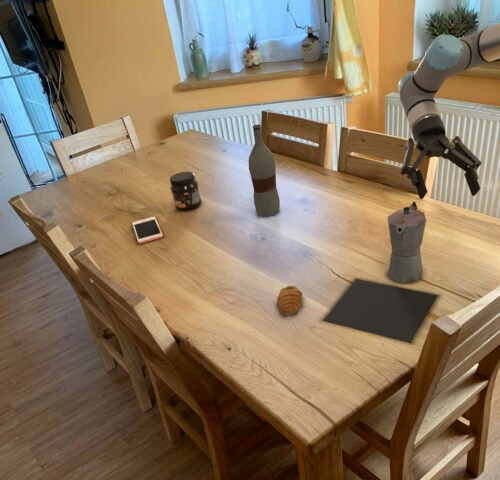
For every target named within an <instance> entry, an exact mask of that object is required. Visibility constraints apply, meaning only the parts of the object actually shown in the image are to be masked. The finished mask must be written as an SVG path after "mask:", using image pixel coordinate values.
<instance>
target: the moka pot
mask: <svg viewBox="0 0 500 480" xmlns="http://www.w3.org/2000/svg"><path fill="white" fill-rule="evenodd" d="M386 218H387V225H388V233H389V240H390V245H391V246H390V247H391V253H390V259H389V266H388V272H387V274H388V277H389V278H390V279H391V280H392V281H393V282H395V283H400V284H409V283H410V284H411V283H414V282H416V281H418V280H419V279H421V277H422V276H423V273H424V269H423V262H422V253H421V246H422V243H423V240H424V234H425V228H426V223H427V218H426V215H425V212H424V211H420V210H418V205H417V203H416V201H412V203H411V205H409V206H405V207H403V209H398V210H395V211H394V212H392V213H391V214H389V215H388V216H387V217H386Z"/></svg>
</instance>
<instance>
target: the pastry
mask: <svg viewBox="0 0 500 480" xmlns="http://www.w3.org/2000/svg"><path fill="white" fill-rule="evenodd" d="M276 300H277V301H276V302H277V305H278V309H279V310H280V313H282V315H284V316H288V315H289V316H290V315H294V314H296V313H297V312H298V310H299V309H300V308H301V306H302V304H303V292H302V291H301V290H300V288H298V287H297V286H296V285H295V286H294V285H287V286H285V287H282V288H281V289H280V290H279V293H278V295H277V297H276Z"/></svg>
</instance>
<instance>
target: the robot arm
mask: <svg viewBox="0 0 500 480" xmlns="http://www.w3.org/2000/svg"><path fill="white" fill-rule="evenodd" d="M499 59H500V22H499V23H496V24H494V25H491V26H490V27H487V28H484V29H481V30H479V31H476V32H474V33H472V34H469V35H466V36H465V37H461V38H457V37H456V36H454V35H451V34H445V33H444V34H439V35H438V36H436V37H434V40H433V41H432V42H431V44H430V46H428V48H427V49H426V51H425V53H424V55H423V57H422V59H421V61H420V62H419V64H418V66H417V68H416V69H415V70H413V71H409V72H408V73H406V74H405V76H404V77H403V76H402V77H401V79H400V80H399V82H398V86H397V91H398V94H399V100H400V102H401V105H402V107H403V110H404V113H405V116H406V119H407V121H408V126H409V129H410V131H411V134H412V137H409V138H407V139H408V140H407V141H406V142H405V145H404V149H405V154H404V157H403V161H402V165H401V168H400V174H401V175H402V176H404V175H406V178H407V179H409V180H410V181H411V185H412V186H413V187H415V189H416V191H417V194H418V198H419V200H423V199H424V198H425V197H426V195H427V194H428V193H429V192H428V189H427V185H426V183H425V180H424V177H423V174H422V170H421V169H418V168H419V166H420V165H421V163H422V162H423V160H424V159H425V157H428V158H442V159H444V160H448V161H449V162H450V163H452V164H454V166H457V167H458V168H460V169H461V170H462V171H463V172H464V174H463V176H464V178H465V181H466V183H467V187H468V189H469V191H470V194H471V196H472V197H474V196H475V197H476V195H477V194H478V193H479V191H480V190H481V186H480V183H479V179H480V178H479V174H478V172H477V170H478V169H479V167H480V166H481V165H482V161H481V160H480V158H478V157H477V156H476V155H475V154H474V153H473V152H472V151H471V150H470V149H469V148H468V147H467V146H466V145H465V144H464V143H463V141H462V140H461V138H460V136H458V135H456V136H454V137H453V138H451V139H449V138H448V137H447V134H446V127H445V125H444V122H443V120H442V117H441V116H442V115H441V113H440V110H439V109H438V105H437V102H436V100H435V96H436V94H437V93H438V91H439V90H440V89H441V87H442V86H443V84H444V83H445V81H446V80H447V79H448V78H451V77H453V76H455V75H458V74H461V73H463V72H465V71H468V70H471V69H474V68H477V67H481V66H482V65H485V64H488V63H491V62H493V61H496V60H499ZM415 149H417V150H418V151H420V154H419V155H418V156H417V158H416V160H415V162H413V165H412V166H410V165H411V161H412V157H413V153H414V150H415ZM446 151H447V152H446Z"/></svg>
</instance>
